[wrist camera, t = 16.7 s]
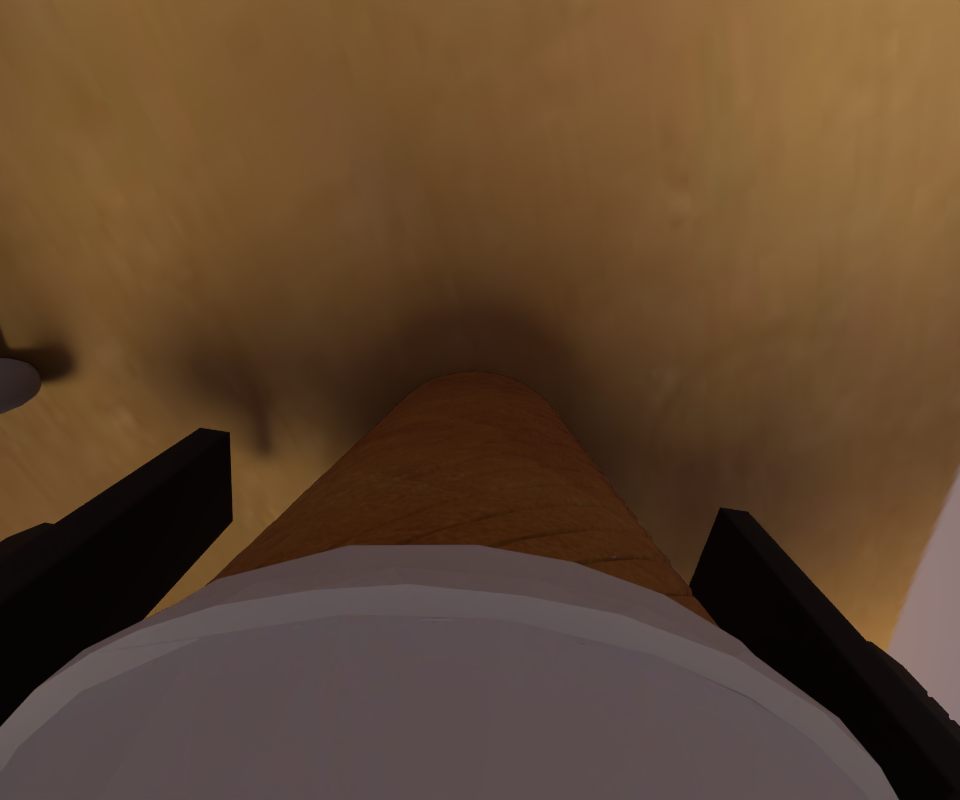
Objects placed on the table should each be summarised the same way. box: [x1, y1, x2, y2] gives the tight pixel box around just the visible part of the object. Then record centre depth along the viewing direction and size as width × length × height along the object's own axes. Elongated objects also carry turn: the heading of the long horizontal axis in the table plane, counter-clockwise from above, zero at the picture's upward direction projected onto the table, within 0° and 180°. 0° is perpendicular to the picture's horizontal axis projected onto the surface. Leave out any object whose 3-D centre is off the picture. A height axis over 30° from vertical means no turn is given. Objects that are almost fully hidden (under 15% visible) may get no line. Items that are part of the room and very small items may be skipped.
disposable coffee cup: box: [0, 372, 899, 800], centre depth 9 cm, size 10×10×12 cm
